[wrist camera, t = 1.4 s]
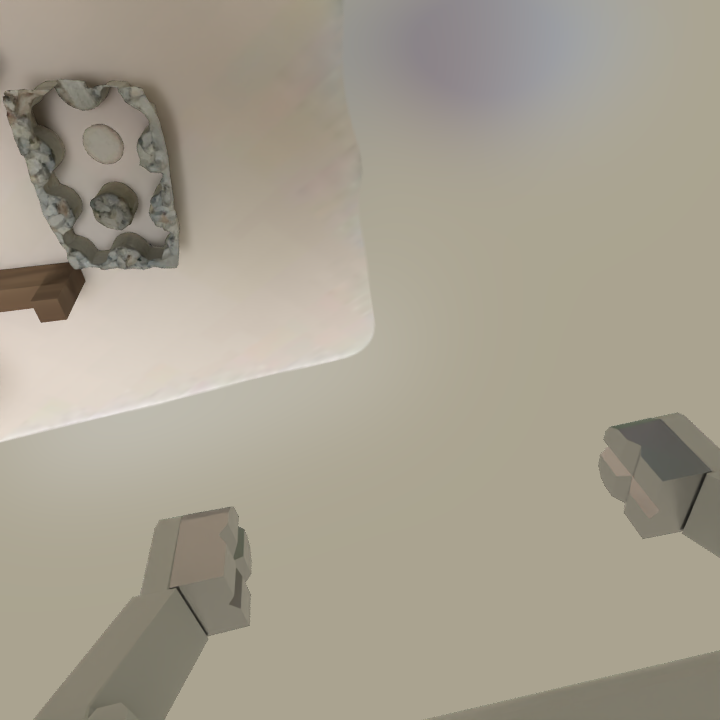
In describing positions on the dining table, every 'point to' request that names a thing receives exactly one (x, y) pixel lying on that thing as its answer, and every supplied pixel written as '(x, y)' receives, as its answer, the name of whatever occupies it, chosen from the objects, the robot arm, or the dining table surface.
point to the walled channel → (41, 290)
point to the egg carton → (114, 198)
